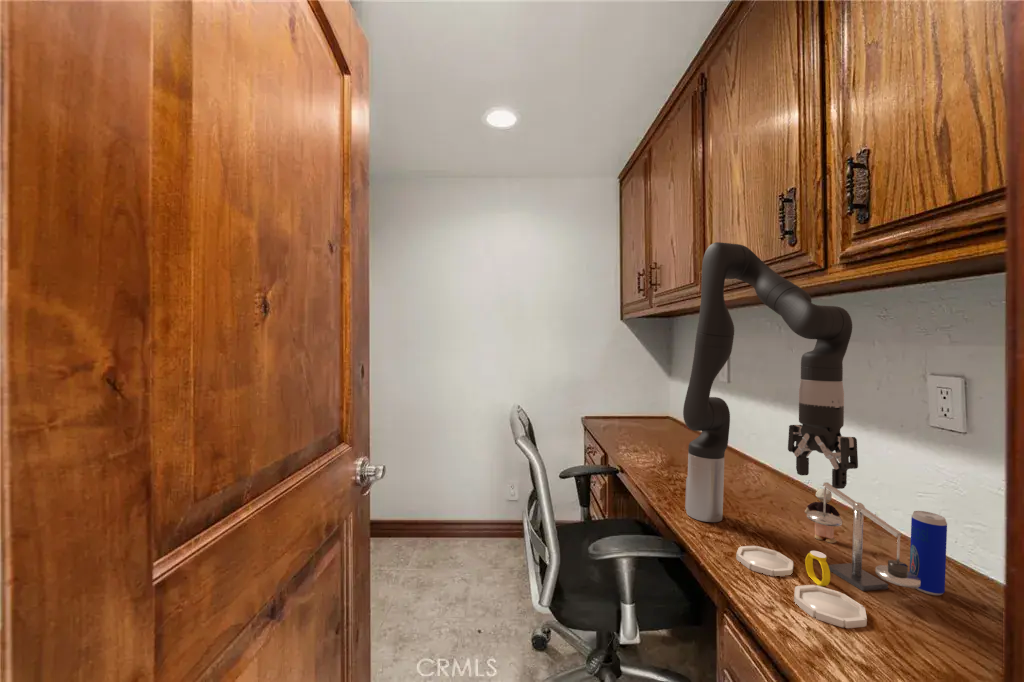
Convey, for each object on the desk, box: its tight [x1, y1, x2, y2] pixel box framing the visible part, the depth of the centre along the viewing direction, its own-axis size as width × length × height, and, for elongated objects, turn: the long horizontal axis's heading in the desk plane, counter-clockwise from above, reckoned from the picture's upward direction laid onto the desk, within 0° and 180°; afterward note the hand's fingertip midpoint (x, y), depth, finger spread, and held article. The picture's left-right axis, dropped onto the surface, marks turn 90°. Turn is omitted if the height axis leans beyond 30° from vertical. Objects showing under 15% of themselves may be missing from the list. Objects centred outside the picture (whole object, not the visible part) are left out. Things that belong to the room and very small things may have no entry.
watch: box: [804, 550, 831, 587], centre depth 88 cm, size 6×3×6 cm, turn 176°
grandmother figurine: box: [804, 487, 844, 544], centre depth 108 cm, size 8×4×13 cm, turn 56°
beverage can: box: [909, 510, 948, 597], centre depth 87 cm, size 5×5×15 cm
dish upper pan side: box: [735, 545, 794, 577], centre depth 95 cm, size 11×11×1 cm
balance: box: [806, 481, 921, 592], centre depth 90 cm, size 22×6×18 cm, turn 10°
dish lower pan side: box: [793, 584, 868, 629], centre depth 79 cm, size 11×11×1 cm
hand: (819, 481), depth 88 cm, fingers open, 8 cm apart
